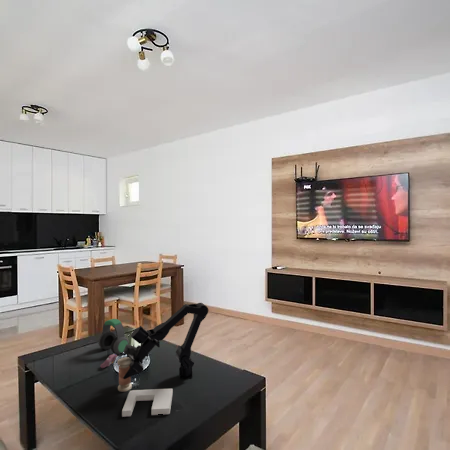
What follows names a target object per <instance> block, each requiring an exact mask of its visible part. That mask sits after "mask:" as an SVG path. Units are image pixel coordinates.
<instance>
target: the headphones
mask: <svg viewBox="0 0 450 450" xmlns="http://www.w3.org/2000/svg"><path fill="white" fill-rule="evenodd" d="M111 327H112V328H113V329H114V331H115V333H114V332H112V331H111ZM101 332H102V333H101V334H100V336H99V337H98V341H97V342H98V346H99V347H100V348H101V349H103V350H104V351H108V350H110V349H111V352H112V353H113V354H116V355H121V354H120V353H123V352H124V349H125V346H126V344H127V345H130V342H129V338H127V337H126V335H125V334H126V332H125V328H124V325H123V323H122V321H121V320H119V319H117V318H110V319H108V320H106V321H104V324H103V326H102V331H101ZM123 354H124V353H123Z"/></svg>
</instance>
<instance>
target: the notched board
mask: <svg viewBox="0 0 450 450" xmlns="http://www.w3.org/2000/svg"><path fill="white" fill-rule="evenodd" d="M173 391H174V390H173V388H154V389H153V388H152V389H151V388H150V389H133V390H131V389H130V390H129V391H128V394H127V397H126V400H125V402H124V405H123V408H122V410H121V417H122V418H123V417H124V418H125V417H132V414H133V411H134V408H135V406H136V402H139V401H141V402H142V401H153V402H152V404H151V405H152V406H151V409H150V410H151V416H159V415H158V414H163V415H170V414H171V406H172V402H173V401H172V400H173V393H174V392H173Z"/></svg>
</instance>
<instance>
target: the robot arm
mask: <svg viewBox="0 0 450 450" xmlns="http://www.w3.org/2000/svg"><path fill="white" fill-rule="evenodd" d="M209 310H210V309H209V307H208V306H207V305H206V304H204V303H202V302H198V303H191V304H185V303H184V304H183V305H182V306H181V307H180V308H179V309H178V310H177V311H176V312H175V313H173V314H172V315H171V316H170V317H169V318H168V319H167V320H166V321H164V322H162V323H159V324H158V325H157V326H155V327H153V328H151V329H147V330H146V329H145V328H144V327H143V326H142V325H139V327H137V328H135V329H134V330H133V331H132V332H131V334H130V338H132V339H133V340H134V341H135V342H137V343H138V344H141V345H136V346H133V345H130V344H129V345H127V344H126V346H125V349H124V353H123V354H125V355H126V357H129V358H131V359H132V362H131V364H130V368H129V370H128V371H127V373H126V374H125V375H124V377H123V379H126V378H129V377H133V376H134V375H135V376H136V375H137V374H138V375H139V374H142V373H143V371H144V365H143V362H144V359H145V358H146V357H147V358H148V357H149V356H150V355H149V354H150V353H151V351H152V350H153V349H154V348H155V347H157V348H160V347H161V346H160V344H161V343H160V342H161V341H163V340H164V339H165V338H166V337H167V336H168V335H169V333H170V331H171V330H172V329H173V327H175V325H177V324H178V323H179V322H180V321H181V320H182V319H183V318H184V317H186V316H187V315H188V314H192V315H193V317H192V318H193V319H192V321H191V323H190V326H189V329H188V331H187V334H186V337H185V338H184V340H183V343H182V344H181V345H180V344H179V345H178V346H177V349H176V351H175V357H176V359H177V361H178V362H179V363H180V365H179V370H178V375H179V377H180V378H179V379H192V378H193V375H194V373H193V367H194V363H195V362H194V361H193V360H192V358H191V355H192V346H193V344H194V341H195V338H196V336H197V334H198V331H199V328H200V327H201V326H200V325H201V323H202V322H203V320H205V319H206V317H207V315H208V314H209Z"/></svg>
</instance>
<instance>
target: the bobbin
mask: <svg viewBox="0 0 450 450" xmlns="http://www.w3.org/2000/svg"><path fill="white" fill-rule="evenodd" d="M131 362H132V359H131V358H129V357H127V356H125V357H121V358H119V359H118V360H117V366H118V386H117V391H118V392H121V393H122V392H123V393H125V392H130V390H131V389H132V388H133V384H132V383H131V382H132V381H131V380H132V379H131V377H132V376H131V377H129V378H126V379H123V377H124V375H125V374H126V373H127V371H128V370H129V368H130V364H131Z"/></svg>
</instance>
